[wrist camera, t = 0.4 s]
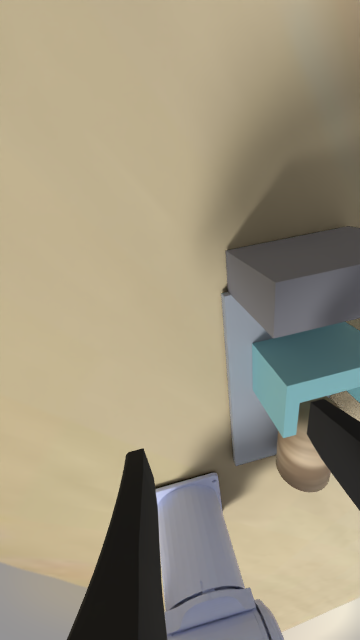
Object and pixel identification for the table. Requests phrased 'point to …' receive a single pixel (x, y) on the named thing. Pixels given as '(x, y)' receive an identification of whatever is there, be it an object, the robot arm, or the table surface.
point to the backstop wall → (298, 280)
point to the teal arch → (305, 370)
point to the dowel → (302, 456)
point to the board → (245, 386)
